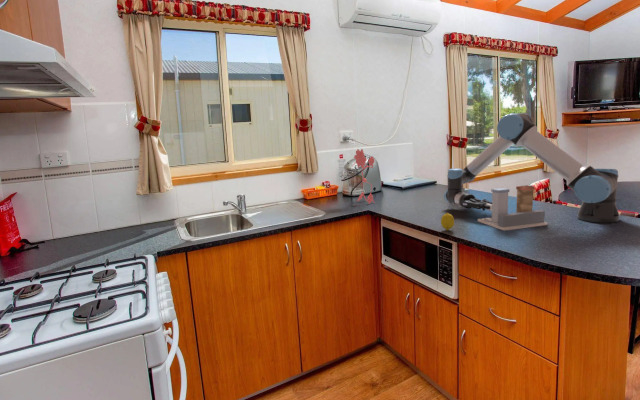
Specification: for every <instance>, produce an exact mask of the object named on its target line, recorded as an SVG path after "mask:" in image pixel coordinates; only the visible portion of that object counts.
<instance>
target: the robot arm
mask: <svg viewBox="0 0 640 400" xmlns="http://www.w3.org/2000/svg"><path fill="white" fill-rule="evenodd" d="M496 132H497V134H498V135H499V136H498V137H497V138H495V139H494V140H493V141H492V143H490V144H489V145H488V146H486V147H485V149H484V150H483V151H481V152H480V153H479V154H478V155H477V156H476V157H474V159H473V160H471V161H470V163H468V164H467V165H466V166H465V167H463V169H462V168H457V167H456V168H449V169H448V170H447V190H446V191H445V193H444V194H443V198H444V201H446V202H447V203H449V204H450V205H455V206H458V207H461V208H465V209H469V210H470V209H476V210H482V211H486V210H487V211H491V212H492V201H489V200H487V199H485V198H484V199H482V200H481V199H479V198H477V197H476V196H475V195H473V194H472V193H471V194H470V193H467V192H463V185H465V184H469V183H471V182H472V181H474V180H475V179H476V177H477V176H478V175H479V174H481V172H482V171H484V170H485V169H486V168H487V167H488V166H489V165H491V164H492V163H493V162H494V161H495V160H496V159H497V158H499V157H500V156H501V155H503V153H505V152H506V151H507V150H508V149H509V148H510V147H511V146H513V145H515V146H516V147H523V148H524V149H526V150H527V151H529V153H530V154H532V155H533V156H534V157H536V158H537V159H539V160H540V161H541V162H542V163H544V164H545V165H546V166H547V167H549V168H550V169H551V170H553V172H555V173H557V174H558V175H559V176H560V177H561V178H563V179H564V180H565V181H566V186H567V187H568V188H569V189H571V190H572V191H573V192H574V195H575V197H577V199H579V200H580V201H582V203H581V205H580V207H579V209H578V211H577V216H576V217H577V219H579V220H581V221H585V222H590V223H600V224H602V223H603V224H607V223H608V224H610V223H611V224H612V223H618V222H619V221H620V213H619V210H618V207H617V203H616V200H617V190H618V178H619V171H618V169H616V168H594V167H593V166H591V165H583V164H582V163H581V162H580V161H578V160H577V159H575V158H574V157H572V156H571V155H570V154H568V153H567V152H566V151H564V150H563V149H561V148H560V146H558V145H556V144H555V143H554V142H552V141H551V140H550V139H548V138H547V137H546V136H545V135H543V134H541V132H539V131H538V126H536V124H535V123H534V121H533V118H532V117H531V116H530V115H528V114H527V113H521V112H520V113H515V112H511V113H508V114H506V115H503V116H501V118H500V119H499V120H498V122H497V125H496Z"/></svg>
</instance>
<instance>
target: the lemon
mask: <svg viewBox="0 0 640 400" xmlns="http://www.w3.org/2000/svg"><path fill="white" fill-rule="evenodd" d="M440 223H441V226H442V228H444V229H445V230H446V231H449V230H451V229H452V228H453V227H454V225H455V218H454V216H453V215H452V214H451V213H449V212H446V213H445V214H443V215H442V217H441V220H440Z"/></svg>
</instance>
